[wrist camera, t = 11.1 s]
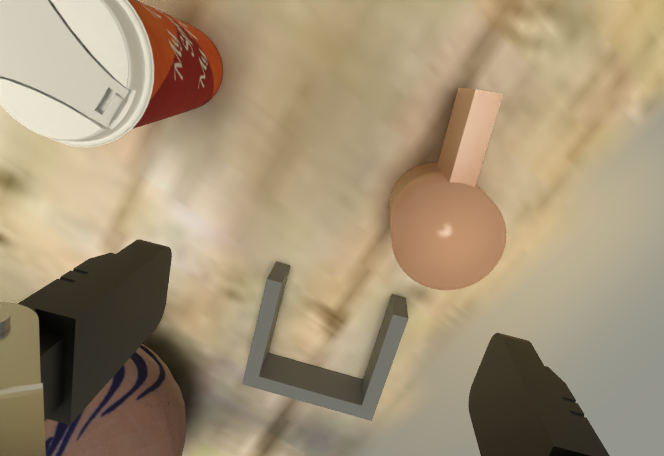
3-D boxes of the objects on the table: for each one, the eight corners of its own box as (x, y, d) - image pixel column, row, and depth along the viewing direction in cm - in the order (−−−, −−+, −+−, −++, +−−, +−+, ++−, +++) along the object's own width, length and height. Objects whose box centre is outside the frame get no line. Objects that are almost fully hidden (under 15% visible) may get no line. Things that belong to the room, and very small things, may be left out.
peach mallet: (418, 79, 33) (430, 79, 26) (513, 99, 33) (553, 104, 26) (380, 237, 37) (380, 277, 30) (464, 255, 37) (486, 300, 30)
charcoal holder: (276, 262, 39) (267, 278, 36) (405, 298, 39) (408, 318, 35) (253, 360, 42) (242, 384, 39) (372, 394, 42) (371, 420, 39)
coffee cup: (259, 59, 34) (173, 44, 20) (199, 144, 36) (84, 185, 22) (167, -19, 33) (8, -94, 19) (111, 74, 35) (-67, 71, 21)
